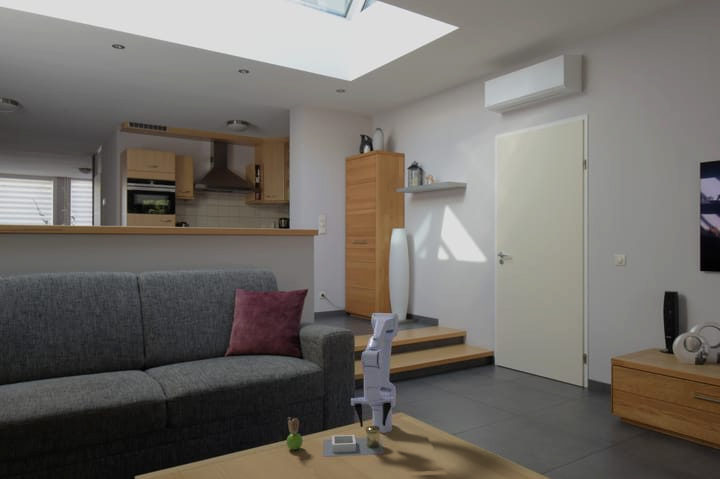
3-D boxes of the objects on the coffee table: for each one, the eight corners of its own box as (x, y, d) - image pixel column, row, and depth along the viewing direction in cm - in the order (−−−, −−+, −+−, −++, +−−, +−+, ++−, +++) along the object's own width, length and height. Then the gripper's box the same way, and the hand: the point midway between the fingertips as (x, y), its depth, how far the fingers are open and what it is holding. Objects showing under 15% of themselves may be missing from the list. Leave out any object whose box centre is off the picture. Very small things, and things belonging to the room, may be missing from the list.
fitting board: (323, 442, 175) (323, 432, 175) (379, 440, 177) (379, 430, 177) (323, 459, 161) (323, 448, 161) (384, 457, 163) (384, 446, 163)
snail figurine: (282, 452, 168) (281, 416, 168) (291, 445, 174) (291, 410, 174) (296, 454, 166) (295, 418, 166) (305, 447, 172) (305, 412, 172)
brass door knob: (365, 443, 172) (364, 425, 172) (379, 442, 172) (379, 425, 172) (366, 449, 167) (366, 431, 167) (381, 448, 167) (380, 430, 167)
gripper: (351, 389, 165) (352, 430, 165) (394, 388, 166) (395, 428, 166) (350, 383, 172) (351, 423, 172) (391, 382, 173) (392, 421, 173)
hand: (372, 425), depth 170 cm, fingers open, 7 cm apart
